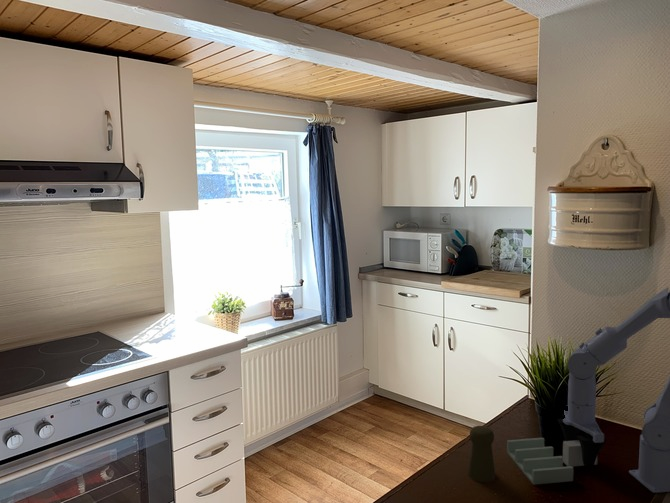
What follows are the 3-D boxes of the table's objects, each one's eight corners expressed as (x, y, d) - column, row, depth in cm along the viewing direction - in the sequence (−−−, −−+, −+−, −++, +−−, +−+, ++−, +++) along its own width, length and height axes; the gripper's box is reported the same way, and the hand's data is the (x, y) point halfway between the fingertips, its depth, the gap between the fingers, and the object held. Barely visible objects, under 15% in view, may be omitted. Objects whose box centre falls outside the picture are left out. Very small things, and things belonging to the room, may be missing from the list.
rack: (542, 449, 126) (543, 437, 126) (573, 481, 113) (573, 467, 113) (507, 452, 126) (507, 440, 125) (533, 484, 112) (533, 471, 112)
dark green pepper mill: (488, 485, 112) (488, 437, 111) (462, 476, 116) (462, 429, 115) (500, 473, 117) (500, 427, 116) (475, 464, 121) (475, 419, 119)
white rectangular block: (591, 459, 122) (591, 439, 121) (597, 464, 119) (597, 444, 119) (562, 461, 121) (563, 441, 120) (568, 467, 119) (568, 446, 118)
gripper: (549, 389, 125) (547, 442, 127) (582, 416, 111) (580, 475, 112) (576, 387, 126) (575, 440, 127) (614, 413, 111) (611, 473, 113)
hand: (579, 456), depth 120 cm, fingers open, 6 cm apart
